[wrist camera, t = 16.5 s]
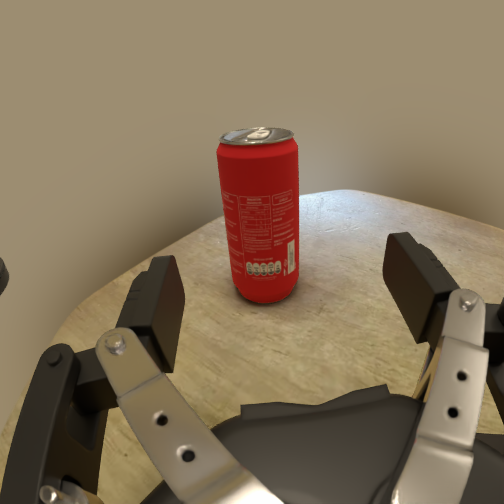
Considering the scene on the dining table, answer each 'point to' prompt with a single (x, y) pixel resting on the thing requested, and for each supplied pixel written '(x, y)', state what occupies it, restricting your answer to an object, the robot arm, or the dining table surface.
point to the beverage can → (261, 210)
